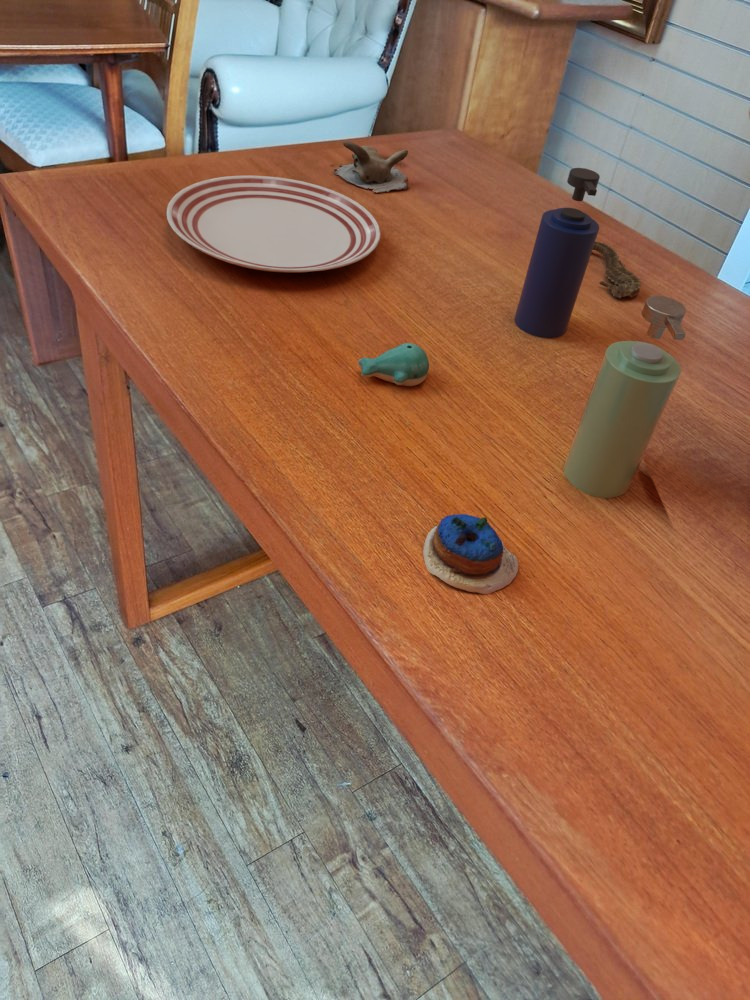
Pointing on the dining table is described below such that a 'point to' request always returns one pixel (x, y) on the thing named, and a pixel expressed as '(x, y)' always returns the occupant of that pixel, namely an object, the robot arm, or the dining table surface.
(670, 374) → the bottle green
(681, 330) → the grey round-capped part
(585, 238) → the bottle navy
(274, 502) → the dining table surface
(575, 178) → the black dispenser pump head
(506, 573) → the dessert
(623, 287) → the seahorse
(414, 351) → the whale figurine
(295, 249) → the dinner plate
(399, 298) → the dining table surface
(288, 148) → the dining table surface
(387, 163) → the skull
